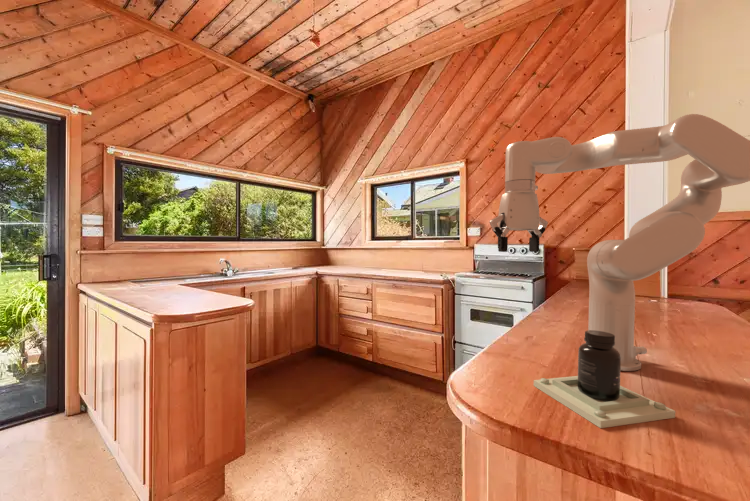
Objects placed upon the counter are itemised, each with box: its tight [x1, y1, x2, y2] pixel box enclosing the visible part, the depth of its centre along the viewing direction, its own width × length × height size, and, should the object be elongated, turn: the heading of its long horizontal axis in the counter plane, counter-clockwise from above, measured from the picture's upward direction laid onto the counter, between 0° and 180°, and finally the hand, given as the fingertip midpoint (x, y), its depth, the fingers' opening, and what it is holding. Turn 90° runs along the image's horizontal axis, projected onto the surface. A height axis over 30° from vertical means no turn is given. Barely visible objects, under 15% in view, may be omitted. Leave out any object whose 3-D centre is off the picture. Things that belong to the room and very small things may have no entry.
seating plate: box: [533, 375, 676, 429], centre depth 63 cm, size 16×16×2 cm
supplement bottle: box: [577, 330, 621, 401], centre depth 62 cm, size 7×7×12 cm
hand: (518, 251), depth 87 cm, fingers open, 9 cm apart
